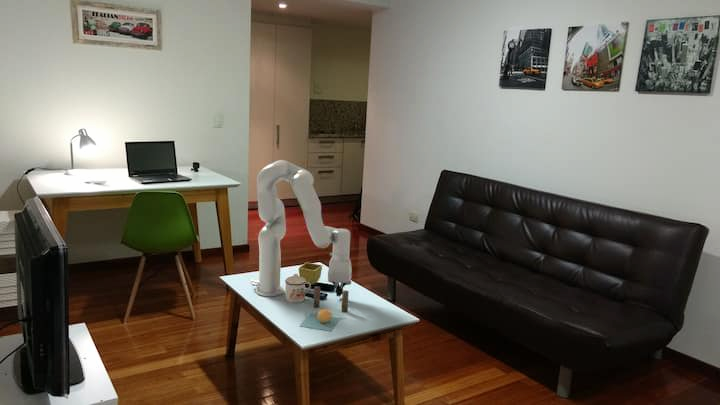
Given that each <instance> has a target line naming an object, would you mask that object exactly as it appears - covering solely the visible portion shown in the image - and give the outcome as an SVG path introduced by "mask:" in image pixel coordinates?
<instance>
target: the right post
mask: <svg viewBox="0 0 720 405" xmlns="http://www.w3.org/2000/svg"><path fill="white" fill-rule="evenodd" d="M341 297H342V298H341V313H343V314H344V313H348V311H349V290H344V289H343V291H342V295H341Z"/></svg>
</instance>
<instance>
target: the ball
mask: <svg viewBox="0 0 720 405" xmlns="http://www.w3.org/2000/svg"><path fill="white" fill-rule="evenodd" d="M317 314H318V319H319V321H320V322H322V323H327V322H328V321H330V319H331V317H332V313H331V312H330V310H329V309H326V308H323V309H321V310H319V312H318V313H317Z"/></svg>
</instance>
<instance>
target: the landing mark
mask: <svg viewBox="0 0 720 405" xmlns="http://www.w3.org/2000/svg"><path fill="white" fill-rule="evenodd" d="M340 319H341V317H337V316H331V319H330V321H328V322H327V323H322V322H320V321H319V319H318V313H309V314H308V316H306V318H305V319H304V320H303V321H302V322H301V324H299V327H301V328H306V329H307V328H308V329H314V330H320V331H324V332H325V331H327V332H332V330H334V328H335V326H336V325H337V323H338V322H339V320H340Z"/></svg>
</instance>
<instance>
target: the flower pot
mask: <svg viewBox="0 0 720 405" xmlns="http://www.w3.org/2000/svg"><path fill="white" fill-rule="evenodd" d="M322 269H323V265H322V264H318V263H312V262H305V263H304V264H302V265H300V266H299V267H298V276H300V277H303V278H304V279H305V280H306V282H309V283H310V284H313V283H316V282H317V283H318V282H319V281H320V278H321V275H322ZM317 283H316V284H317Z"/></svg>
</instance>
